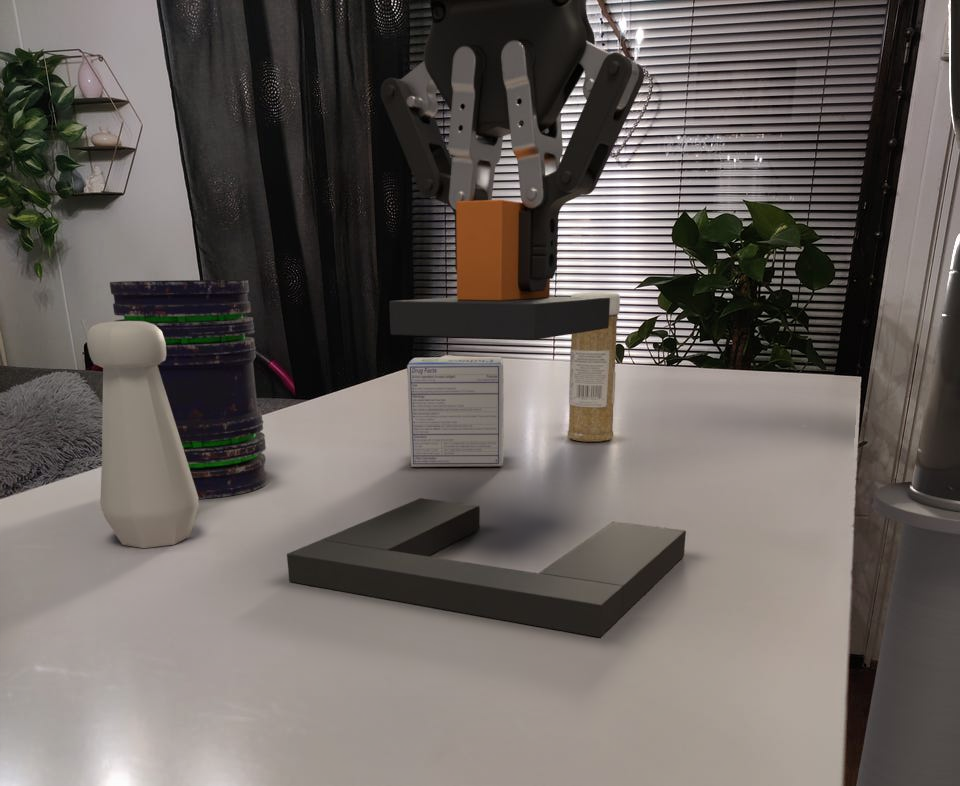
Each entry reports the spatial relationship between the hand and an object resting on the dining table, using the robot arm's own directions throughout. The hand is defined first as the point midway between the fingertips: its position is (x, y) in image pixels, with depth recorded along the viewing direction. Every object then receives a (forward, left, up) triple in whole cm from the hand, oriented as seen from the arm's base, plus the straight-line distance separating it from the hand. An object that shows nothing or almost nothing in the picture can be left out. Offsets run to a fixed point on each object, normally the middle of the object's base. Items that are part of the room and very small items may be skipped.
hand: (504, 289), depth 47 cm
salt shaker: (+6, -22, -15) cm, 27 cm away
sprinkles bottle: (-39, -10, -15) cm, 43 cm away
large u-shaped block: (+2, 0, -15) cm, 15 cm away
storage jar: (-7, -30, -15) cm, 34 cm away
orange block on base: (0, 0, -2) cm, 2 cm away
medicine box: (-23, -16, -15) cm, 32 cm away
